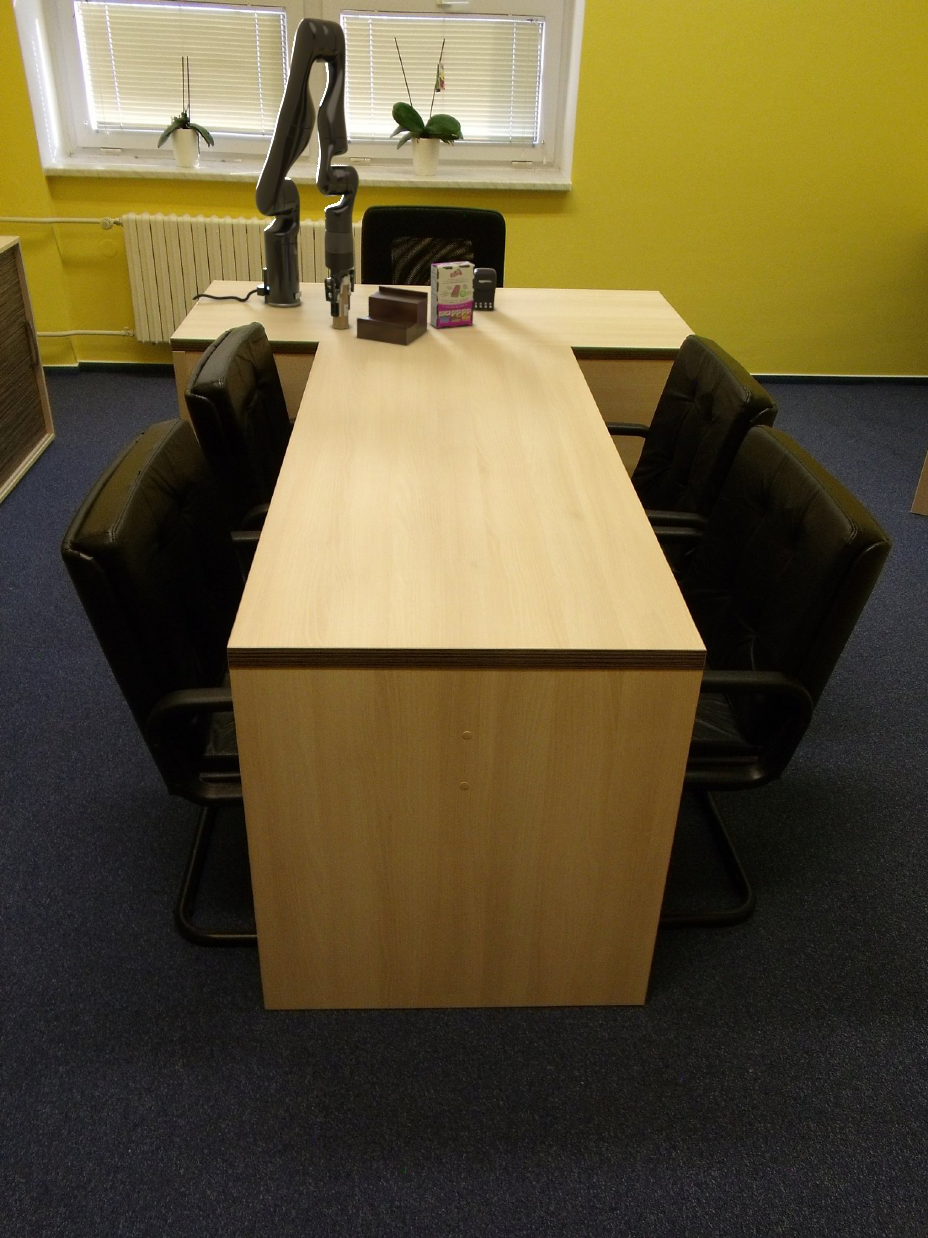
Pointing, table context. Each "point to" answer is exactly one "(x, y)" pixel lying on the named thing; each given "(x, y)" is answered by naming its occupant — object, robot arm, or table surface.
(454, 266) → the candy bar box
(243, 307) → the table surface
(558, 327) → the table surface
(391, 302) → the shelf
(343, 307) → the sprinkles bottle
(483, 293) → the black battery charger
